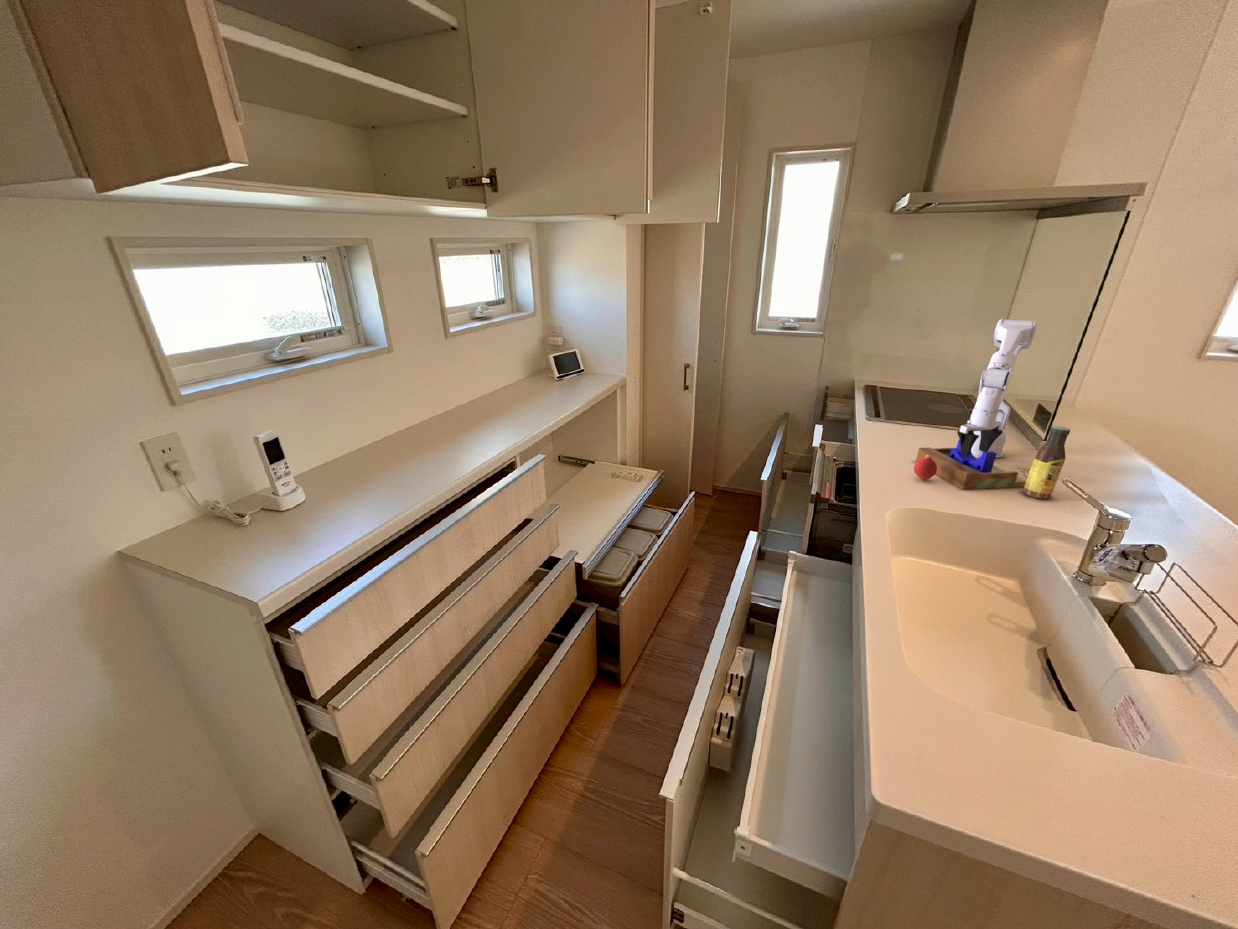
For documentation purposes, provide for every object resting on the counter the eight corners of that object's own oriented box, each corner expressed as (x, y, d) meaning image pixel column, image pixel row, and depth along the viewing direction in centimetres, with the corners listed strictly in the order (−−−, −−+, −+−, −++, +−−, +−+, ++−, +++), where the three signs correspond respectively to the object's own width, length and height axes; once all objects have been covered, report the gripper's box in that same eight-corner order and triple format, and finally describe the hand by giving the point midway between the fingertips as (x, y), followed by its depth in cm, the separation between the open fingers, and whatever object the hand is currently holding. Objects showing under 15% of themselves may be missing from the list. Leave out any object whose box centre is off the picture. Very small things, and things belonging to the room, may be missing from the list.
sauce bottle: (1043, 502, 136) (1068, 433, 128) (1017, 493, 141) (1040, 426, 133) (1055, 497, 138) (1080, 429, 131) (1029, 488, 144) (1052, 423, 136)
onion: (931, 477, 151) (937, 453, 148) (935, 485, 146) (942, 459, 143) (909, 475, 153) (915, 450, 150) (913, 482, 148) (919, 457, 145)
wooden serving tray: (972, 459, 164) (976, 445, 162) (1026, 486, 145) (1031, 470, 143) (915, 462, 162) (918, 447, 160) (962, 489, 143) (967, 473, 141)
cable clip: (949, 457, 158) (954, 439, 156) (962, 457, 158) (967, 439, 156) (976, 472, 147) (982, 453, 145) (990, 472, 147) (996, 453, 145)
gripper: (990, 403, 151) (978, 445, 157) (955, 408, 147) (944, 451, 152) (1014, 410, 145) (1000, 453, 150) (978, 414, 141) (965, 459, 146)
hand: (973, 452), depth 151 cm, fingers open, 7 cm apart
